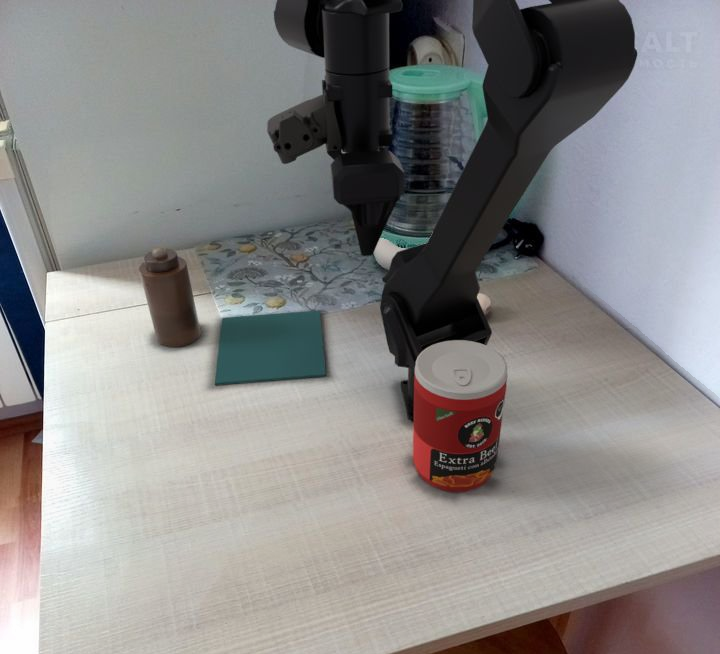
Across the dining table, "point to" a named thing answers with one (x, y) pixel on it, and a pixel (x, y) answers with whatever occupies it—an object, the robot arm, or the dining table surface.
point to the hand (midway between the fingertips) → (362, 235)
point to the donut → (386, 252)
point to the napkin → (270, 348)
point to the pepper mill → (169, 297)
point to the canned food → (458, 413)
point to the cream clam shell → (484, 302)
